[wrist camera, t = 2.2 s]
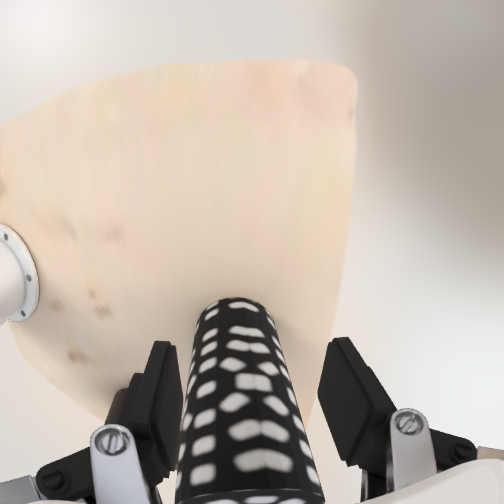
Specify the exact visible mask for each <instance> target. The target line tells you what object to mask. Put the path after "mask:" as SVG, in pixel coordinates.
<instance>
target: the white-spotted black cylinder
mask: <svg viewBox="0 0 504 504" xmlns="http://www.w3.org/2000/svg"><path fill="white" fill-rule="evenodd" d="M324 503H325V498H324V494H323V491H322V487H321V484H320V480H319V477H318V474H317V470H316V467H315V463H314V460H313V456H312V453H311V450H310V446H309V442H308V439H307V436H306V432H305V428H304V425H303V421H302V418H301V415H300V411H299V408H298V404H297V401H296V397H295V394H294V390H293V387H292V383H291V380H290V377H289V373H288V370H287V366H286V363H285V359H284V356H283V352H282V349H281V345H280V342H279V339H278V335H277V332H276V328H275V325H274V321H273V318H272V317H271V315H270V313H269V312H268V311H267V310H266V309H265V308H264V307H263V306H262V305H260V304H259V303H257V302H255V301H252V300H249V299H245V298H236V297H235V298H226V299H223V300H219V301H217V302H215V303H213V304H211V305H210V306H209V307H207V308H206V309H205V310H204V311H203V313H202V314H201V315H200V317H199V319H198V322H197V326H196V331H195V337H194V344H193V350H192V357H191V364H190V370H189V377H188V385H187V392H186V399H185V407H184V415H183V423H182V432H181V440H180V450H179V459H178V469H177V480H176V492H175V504H324Z"/></svg>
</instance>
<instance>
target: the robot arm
mask: <svg viewBox="0 0 504 504" xmlns="http://www.w3.org/2000/svg"><path fill="white" fill-rule="evenodd" d="M38 298H39V282H38V277H37V272H36V268H35V265H34V262H33V260H32V257H31V255H30V253H29V251H28V249H27V247H26V246H25V244H24V243H23V241H22V240H21V238H20V237H19V236H18V235H17V234H16V233H15V232H14V231H13V230H12V229H10V228H9V227H8V226H6V225H3V224H0V326H1V325H2V324H3V323H4V322H5V321H6V320H10V321H14V322H20V321H24V320H25V319H27V318H28V317H29V316H30V315H31V314H32V313H33V312H34V310H35V308H36V306H37V303H38ZM318 399H319V402H320V405H321V407H322V410H323V413H324V415H325V418H326V421H327V423H328V426H329V429H330V432H331V434H332V437H333V440H334V442H335V445H336V448H337V451H338V453H339V456H340V459H341V460H342V461H346V464H347V466H348V467H350V466H354V465H358V466H359V468H360V469H362V484H361V500H360V503H357V504H504V450H499V449H493V448H487V447H481V446H479V447H478V448H477V449H476V447H475V446H474V444H473V443H472V442H471V441H469V440H467V439H465V438H461V437H458V436H454V435H450V434H446V433H443V432H440V431H437V430H433V429H430V428H429V425H428V422H427V419H426V417H425V416H424V415H423V414H422V413H420V412H419V411H417V410H414V409H410V408H404V409H400V410H397V409H396V407H395V405H394V404H393V402H392V401H391V399H390V397H389V396H388V394H387V393H386V391H385V389H384V388H383V386H382V385H381V383H380V382H379V380H378V378H377V377H376V375H375V374H374V372H373V371H372V369H371V368H370V367H369V366H367V365H366V363H365V362H364V360H363V359H362V357H361V356H360V354H359V352H358V351H357V349H356V348H355V346H354V345H353V343H352V342H351V340H350V339H349V338H348V337H340V338H334V339H333V340H332V342H329V343H328V346H327V351H326V356H325V361H324V365H323V370H322V374H321V379H320V383H319V387H318ZM182 408H183V392H182V386H181V380H180V373H179V366H178V359H177V352H176V346H175V345H171V343H170V342H169V341H155V342H154V344H153V347H152V350H151V353H150V356H149V359H148V362H147V365H146V368H145V371H144V373H134V375H133V377H132V379H131V382H130V385H129V388H128V390H127V393H126V396H125V399H124V402H123V405H122V408H121V410H120V413H119V416H118V419H117V422H116V424H108V425H104V426H102V427H99V428H98V429H96V430H95V431H94V432H93V434H92V436H91V438H90V447H87V448H85V449H83V450H81V451H78V452H76V453H74V454H72V455H69V456H67V457H64V458H62V459H60V460H57V461H54V462H52V463H49V464H47V465H45V466H43V467H42V468H40V470H39V471H38V472H37V475H36V477H31V476H30V475H28V476H24V477H21V478H18V479H14V480H10V481H6V482H2V483H0V504H162V501H161V497H160V495H159V491H158V488H157V485H158V484H159V483H161V482H163V478H169V474H170V471H175V467H176V457H177V448H178V440H179V431H180V423H181V415H182Z"/></svg>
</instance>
